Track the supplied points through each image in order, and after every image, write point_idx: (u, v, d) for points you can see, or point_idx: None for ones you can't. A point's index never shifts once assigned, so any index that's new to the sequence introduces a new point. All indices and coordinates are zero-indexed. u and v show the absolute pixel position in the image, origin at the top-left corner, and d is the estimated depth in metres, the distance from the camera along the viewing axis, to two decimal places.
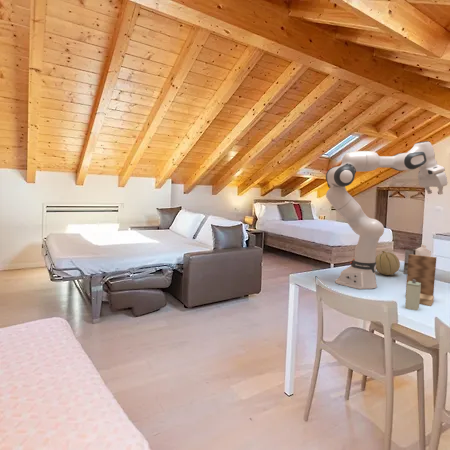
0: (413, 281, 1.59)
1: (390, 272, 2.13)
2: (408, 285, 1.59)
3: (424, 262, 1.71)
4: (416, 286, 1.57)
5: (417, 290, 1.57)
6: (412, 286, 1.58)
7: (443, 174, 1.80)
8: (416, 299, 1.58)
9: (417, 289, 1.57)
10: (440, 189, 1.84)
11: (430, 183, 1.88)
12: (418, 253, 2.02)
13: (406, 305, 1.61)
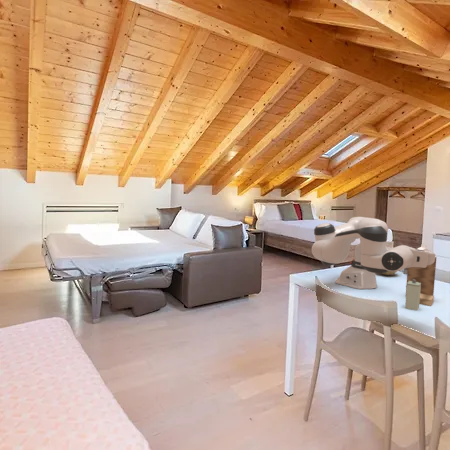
0: (413, 281, 1.59)
1: (390, 272, 2.13)
2: (408, 285, 1.59)
3: None
4: (416, 286, 1.57)
5: (417, 290, 1.57)
6: (412, 286, 1.58)
7: (431, 256, 1.34)
8: (416, 299, 1.58)
9: (417, 289, 1.57)
10: None
11: None
12: None
13: (406, 305, 1.61)
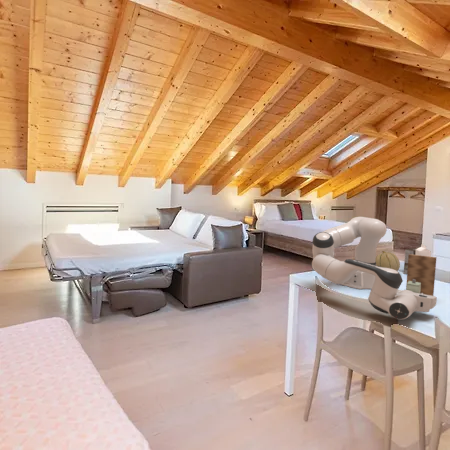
0: (413, 281, 1.59)
1: None
2: (408, 285, 1.59)
3: (424, 262, 1.71)
4: (416, 286, 1.57)
5: (417, 290, 1.57)
6: (412, 286, 1.58)
7: (433, 300, 1.47)
8: None
9: (417, 289, 1.57)
10: None
11: None
12: (418, 253, 2.02)
13: None
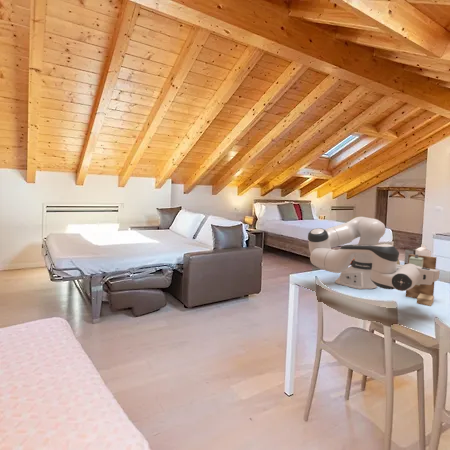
0: (415, 256, 1.58)
1: None
2: (410, 260, 1.58)
3: (424, 262, 1.71)
4: (419, 261, 1.56)
5: (420, 265, 1.56)
6: (414, 261, 1.57)
7: (436, 273, 1.46)
8: None
9: (420, 264, 1.56)
10: None
11: None
12: (418, 253, 2.02)
13: None
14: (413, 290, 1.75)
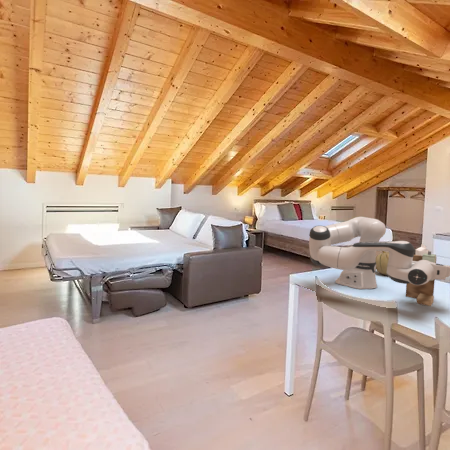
0: (429, 253, 1.66)
1: None
2: (424, 256, 1.66)
3: None
4: (432, 257, 1.64)
5: (433, 261, 1.64)
6: (428, 257, 1.65)
7: (449, 269, 1.54)
8: None
9: (433, 260, 1.64)
10: None
11: None
12: (418, 253, 2.02)
13: None
14: (413, 290, 1.75)
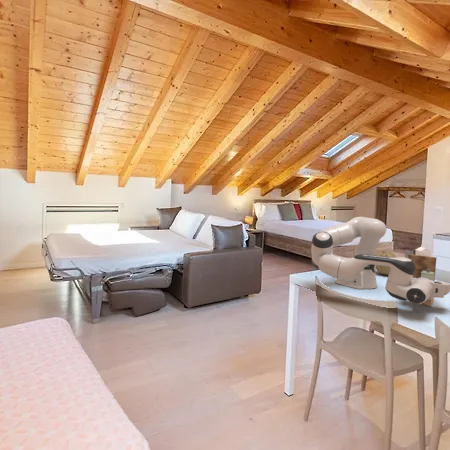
0: (427, 270, 1.67)
1: None
2: (422, 274, 1.67)
3: (424, 262, 1.71)
4: (430, 275, 1.65)
5: (431, 279, 1.65)
6: (426, 275, 1.66)
7: (447, 287, 1.55)
8: None
9: (431, 278, 1.65)
10: None
11: None
12: (418, 253, 2.02)
13: None
14: None
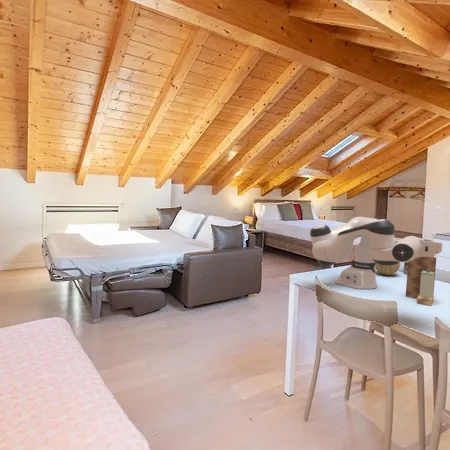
0: (427, 270, 1.67)
1: (390, 272, 2.13)
2: (422, 274, 1.67)
3: (424, 262, 1.71)
4: (430, 275, 1.65)
5: (431, 279, 1.65)
6: (426, 275, 1.66)
7: (438, 245, 1.39)
8: (430, 287, 1.65)
9: (431, 278, 1.65)
10: None
11: None
12: None
13: (420, 293, 1.68)
14: (413, 290, 1.75)
